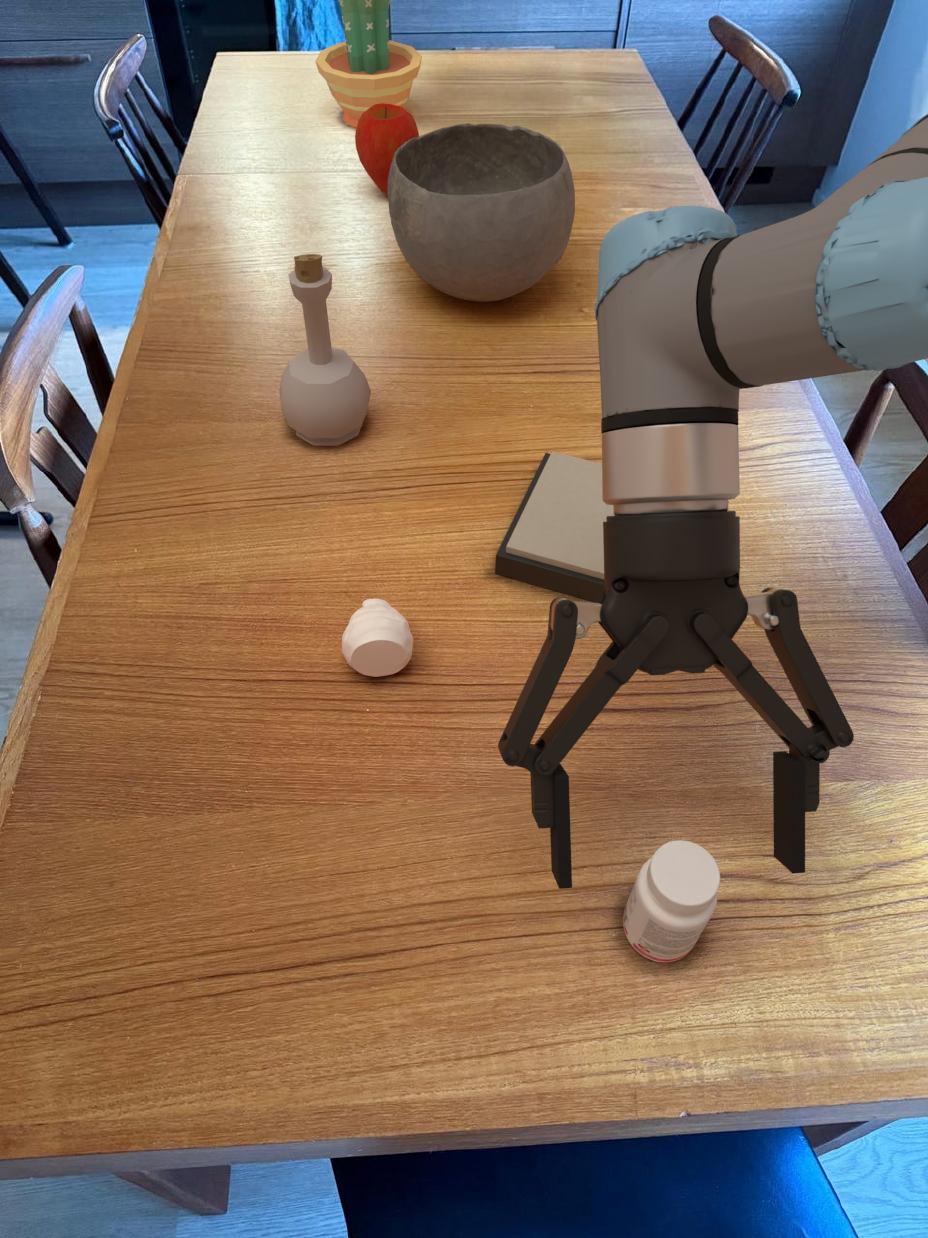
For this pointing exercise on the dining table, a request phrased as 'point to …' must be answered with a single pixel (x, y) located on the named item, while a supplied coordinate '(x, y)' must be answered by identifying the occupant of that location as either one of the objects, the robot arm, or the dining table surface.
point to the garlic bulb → (377, 639)
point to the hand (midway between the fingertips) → (676, 872)
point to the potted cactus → (367, 61)
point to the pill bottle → (671, 901)
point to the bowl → (481, 208)
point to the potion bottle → (321, 368)
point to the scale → (559, 529)
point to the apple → (382, 139)
